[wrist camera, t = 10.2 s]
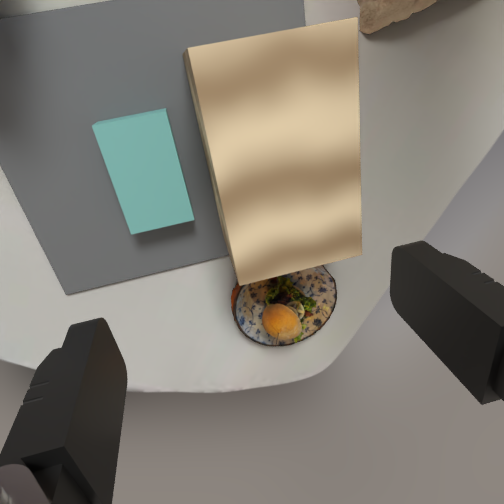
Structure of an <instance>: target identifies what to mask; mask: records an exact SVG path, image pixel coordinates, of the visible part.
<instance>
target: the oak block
mask: <svg viewBox="0 0 504 504" xmlns="http://www.w3.org/2000/svg"><path fill="white" fill-rule="evenodd" d="M182 55H183V59H184V64H185V68H186V72H187V77H188V81H189V86H190V90H191V95H192V99H193V103H194V108H195V112H196V117H197V121H198V126H199V130H200V134H201V139H202V143H203V148H204V152H205V157H206V161H207V165H208V170H209V174H210V179H211V183H212V188H213V192H214V196H215V201H216V205H217V210H218V214H219V219H220V223H221V227H222V232H223V236H224V240H225V243H226V246H227V249H228V252H229V255H230V258H231V261H232V264H233V268H234V271H235V274H236V277H237V280H238V283H239V286H241V285H245V284H249V283H253V282H257V281H261V280H265V279H269V278H273V277H277V276H281V275H284V274H288V273H292V272H296V271H300V270H304V269H308V268H312V267H316V266H320V265H324V264H328V263H332V262H336V261H339V260H343V259H347V258H351V257H355V256H359V255H362V224H361V170H360V116H359V62H358V17H355V18H349V19H344V20H338V21H333V22H327V23H322V24H316V25H311V26H305V27H300V28H294V29H289V30H283V31H278V32H272V33H267V34H261V35H256V36H250V37H245V38H239V39H234V40H228V41H223V42H217V43H212V44H206V45H201V46H195V47H190V48H187V49H186V50H185V52H184V53H183V54H182Z"/></svg>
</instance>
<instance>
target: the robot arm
mask: <svg viewBox="0 0 504 504" xmlns="http://www.w3.org/2000/svg"><path fill="white" fill-rule="evenodd" d="M390 297H391V301H392V304H393V306H394V308H395V310H396V311H397V313H398V314H399V315H400V316H401V317H402V318H403V319H404V321H406V323H407V324H408V325H409V326H410V327H411V328H412V329H413V330H414V331H415V332H416V334H418V336H419V337H420V338H421V339H422V340H423V341H424V342H425V343H426V344H427V346H428V347H429V348H430V349H431V350H432V351H433V352H434V353H435V354H436V355H437V357H438V358H439V359H440V360H441V361H442V362H443V363H444V364H445V365H446V366H447V367H448V368H449V370H450V371H451V372H452V373H453V374H454V375H455V376H456V377H457V378H458V379H459V380H460V382H461V383H462V384H463V385H464V386H465V387H466V388H467V389H468V390H469V391H470V393H471V394H472V395H473V396H474V397H475V398H476V399H477V400H478V401H479V402H480V404H482V405H483V404H486V403H490V402H493V401H496V400H500V399H502V400H503V401H504V286H503V285H501V284H500V283H498V282H494V279H492V278H490V277H489V276H488V275H486V274H485V273H481V271H480V270H479V269H477V268H476V267H474V266H473V265H471V264H470V263H468V262H467V261H465V260H462V259H460V258H457V257H454V256H451V255H448V254H446V253H443V254H442V253H441V252H439V251H438V250H437V249H435V248H434V247H432V246H431V245H429V244H428V243H426V242H425V241H418V242H414V243H410V244H405V245H401V246H397V247H395V248H394V249H393V251H392V260H391V280H390ZM126 389H127V370H126V365H125V362H124V359H123V357H122V355H121V352H120V350H119V348H118V346H117V344H116V341H115V339H114V337H113V335H112V332H111V330H110V328H109V326H108V324H107V322H106V320H105V319H104V318H97V319H93V320H89V321H85V322H81V323H77V324H73V325H71V326H70V327H69V329H68V332H67V335H66V337H65V340H64V343H63V346H62V348H58V349H54V350H52V351H51V352H50V354H49V355H48V356H47V357H46V358H45V359H44V361H43V362H42V363H41V364H40V365H39V366H38V367H37V370H36V372H35V374H34V377H33V379H32V381H31V384H30V389H29V390H28V391H27V393H26V395H25V398H24V400H23V405H22V406H21V407H20V409H19V412H18V414H17V416H16V419H15V421H14V423H13V426H12V428H11V430H10V433H9V435H8V437H7V440H6V442H5V444H4V447H3V449H2V451H1V454H0V504H112V498H113V490H114V483H115V475H116V467H117V459H118V452H119V443H120V436H121V427H122V420H123V413H124V405H125V397H126Z"/></svg>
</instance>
